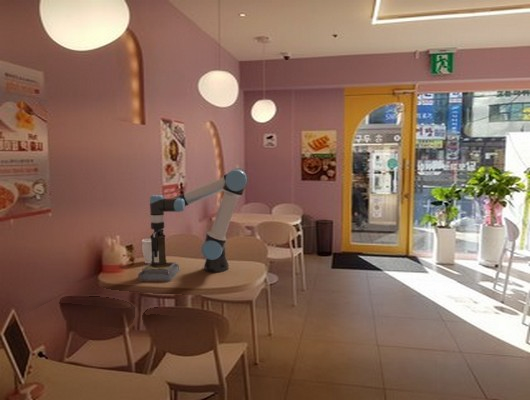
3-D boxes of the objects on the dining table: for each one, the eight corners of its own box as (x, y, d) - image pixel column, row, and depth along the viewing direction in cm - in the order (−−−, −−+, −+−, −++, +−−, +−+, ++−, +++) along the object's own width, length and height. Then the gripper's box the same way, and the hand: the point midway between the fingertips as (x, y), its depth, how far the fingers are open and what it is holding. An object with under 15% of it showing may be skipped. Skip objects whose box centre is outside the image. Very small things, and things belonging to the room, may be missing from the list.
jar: (150, 265, 263) (149, 242, 261) (139, 262, 268) (138, 240, 266) (162, 261, 271) (161, 239, 270) (152, 258, 277) (151, 237, 275)
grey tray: (179, 270, 250) (179, 261, 249) (169, 281, 230) (169, 271, 229) (150, 270, 251) (150, 261, 250) (138, 281, 231) (138, 270, 230)
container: (162, 268, 234) (161, 237, 232) (148, 267, 236) (147, 236, 234) (169, 263, 243) (168, 234, 241) (155, 263, 245) (154, 233, 242)
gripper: (156, 218, 247) (158, 255, 250) (144, 225, 226) (146, 265, 229) (169, 218, 246) (170, 255, 249) (158, 225, 226) (159, 265, 228)
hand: (159, 260), depth 239 cm, fingers closed on container, 8 cm apart
